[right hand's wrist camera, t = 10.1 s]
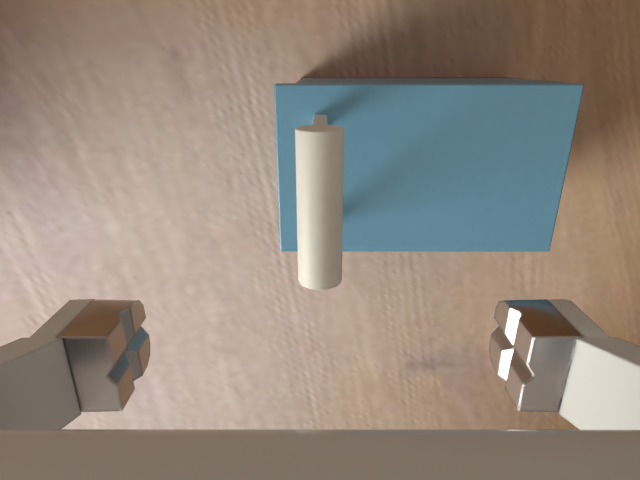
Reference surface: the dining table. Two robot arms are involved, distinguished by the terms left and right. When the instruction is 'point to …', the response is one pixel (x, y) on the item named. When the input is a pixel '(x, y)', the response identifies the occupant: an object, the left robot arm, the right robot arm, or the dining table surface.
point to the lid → (419, 168)
